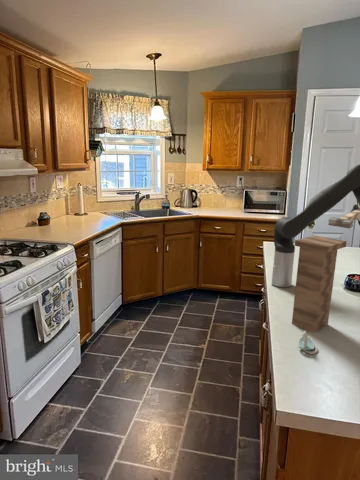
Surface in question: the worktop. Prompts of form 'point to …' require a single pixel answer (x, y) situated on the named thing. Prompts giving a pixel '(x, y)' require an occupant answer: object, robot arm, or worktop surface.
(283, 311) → the worktop surface
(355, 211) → the beige block
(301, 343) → the pacifier
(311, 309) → the stand
